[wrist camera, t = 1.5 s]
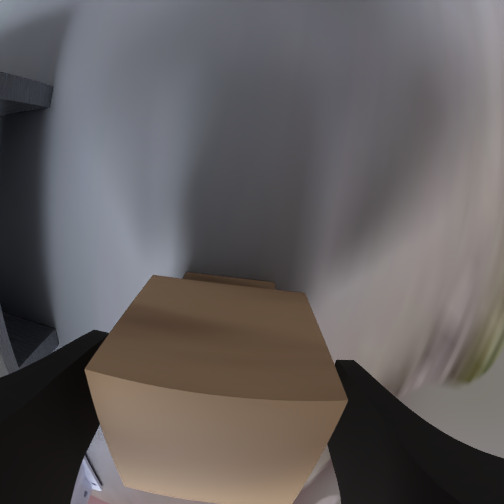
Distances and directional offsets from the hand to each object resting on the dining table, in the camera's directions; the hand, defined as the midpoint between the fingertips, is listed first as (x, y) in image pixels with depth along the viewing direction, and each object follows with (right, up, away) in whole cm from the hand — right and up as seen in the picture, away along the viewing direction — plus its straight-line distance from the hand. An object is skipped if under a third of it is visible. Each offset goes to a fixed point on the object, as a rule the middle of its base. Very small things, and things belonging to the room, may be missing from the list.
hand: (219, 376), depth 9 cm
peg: (0, +1, +4) cm, 4 cm away
